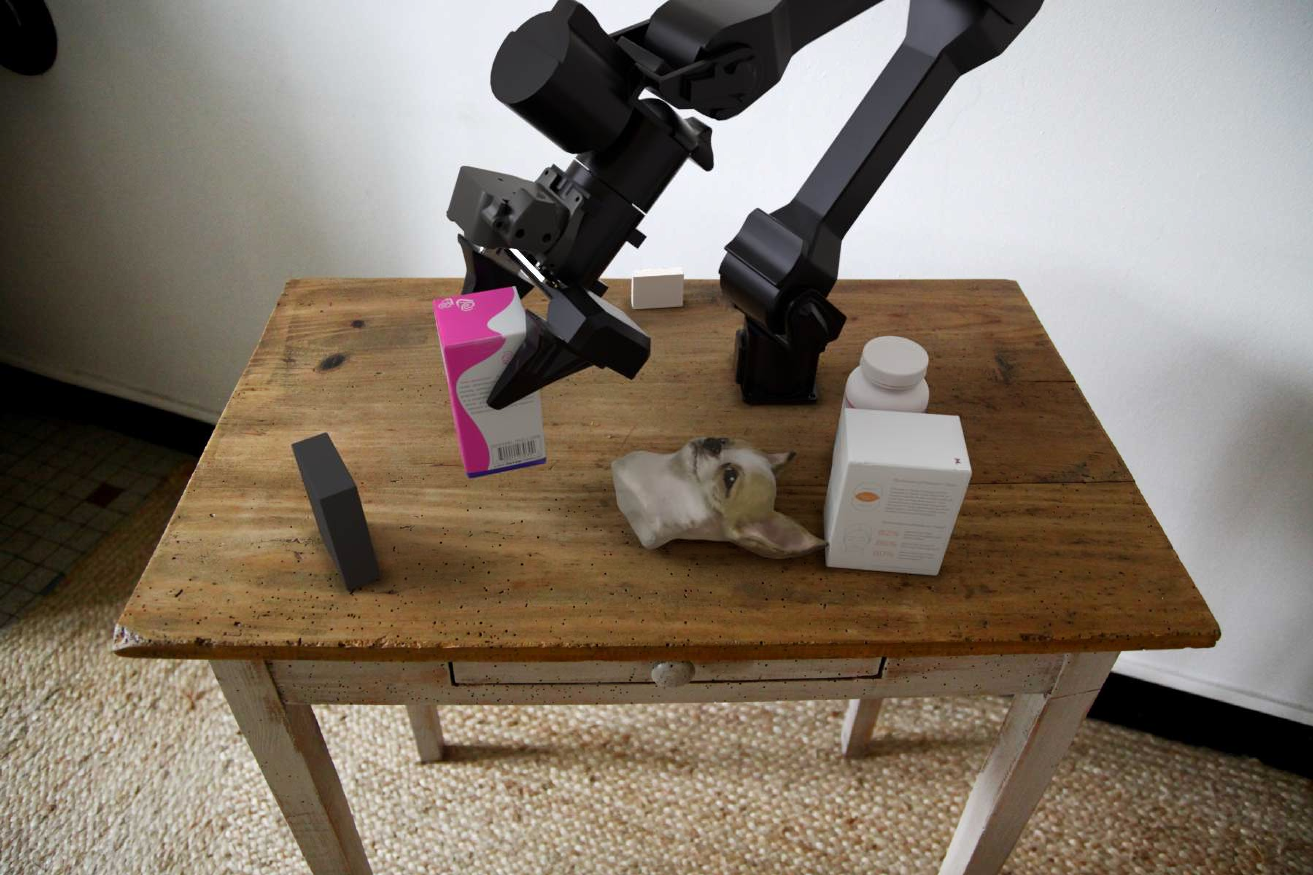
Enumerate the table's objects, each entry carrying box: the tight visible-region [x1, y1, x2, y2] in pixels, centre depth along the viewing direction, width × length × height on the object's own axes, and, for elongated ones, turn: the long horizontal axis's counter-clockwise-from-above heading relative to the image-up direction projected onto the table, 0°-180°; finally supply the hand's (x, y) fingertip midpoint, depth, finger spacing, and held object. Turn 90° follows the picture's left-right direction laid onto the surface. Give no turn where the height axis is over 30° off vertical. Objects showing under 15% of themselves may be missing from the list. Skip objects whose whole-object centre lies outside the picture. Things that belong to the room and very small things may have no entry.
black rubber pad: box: [290, 431, 382, 592], centre depth 62 cm, size 2×6×9 cm, turn 32°
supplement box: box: [432, 286, 547, 480], centre depth 63 cm, size 6×6×12 cm
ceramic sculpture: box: [610, 436, 829, 560], centre depth 66 cm, size 11×9×15 cm
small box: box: [823, 408, 973, 576], centre depth 64 cm, size 8×6×10 cm
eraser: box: [631, 266, 685, 310], centre depth 89 cm, size 1×5×4 cm, turn 98°
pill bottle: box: [832, 335, 930, 460], centre depth 70 cm, size 6×6×11 cm
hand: (470, 379), depth 62 cm, fingers closed on supplement box, 6 cm apart
